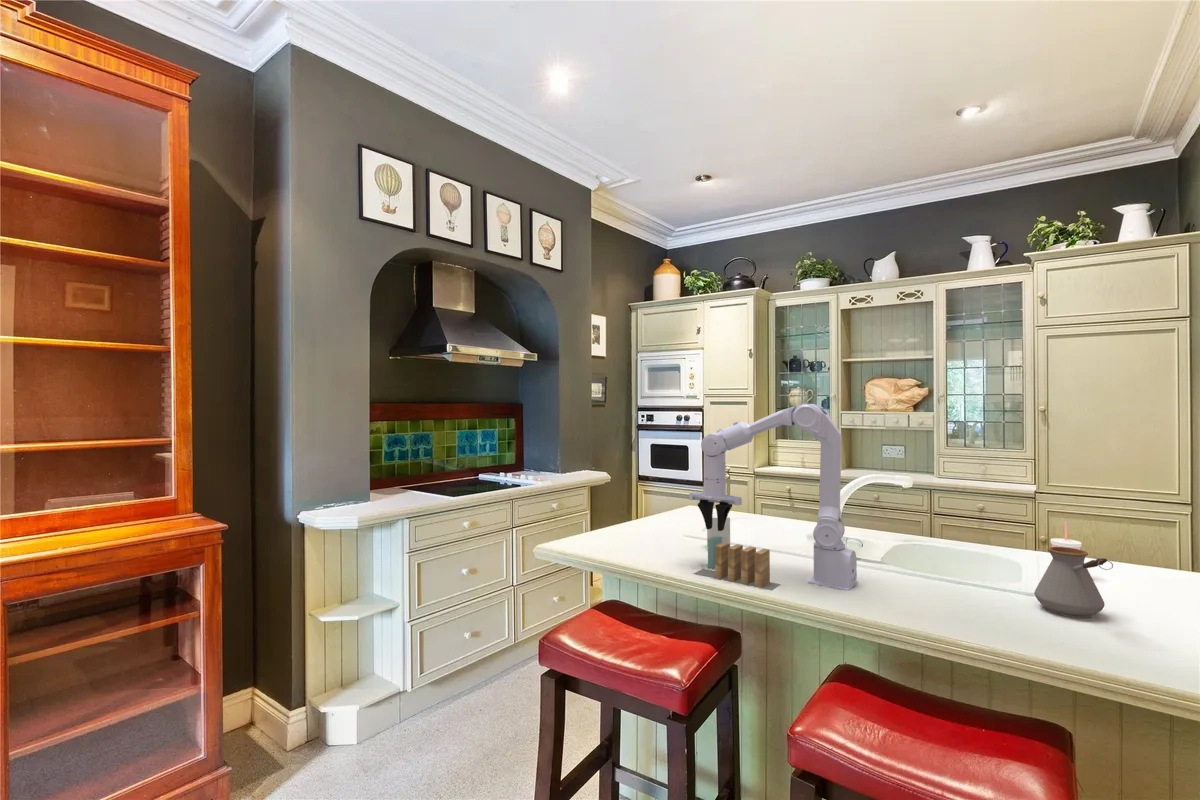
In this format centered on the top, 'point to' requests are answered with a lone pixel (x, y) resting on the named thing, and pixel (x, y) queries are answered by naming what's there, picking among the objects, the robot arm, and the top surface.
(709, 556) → the teal domino
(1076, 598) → the coffee pot
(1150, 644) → the top surface
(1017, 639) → the top surface
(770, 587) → the mat
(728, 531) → the small box
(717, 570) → the domino
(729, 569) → the domino
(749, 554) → the domino
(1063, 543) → the beverage cup
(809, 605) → the top surface
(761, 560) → the domino
